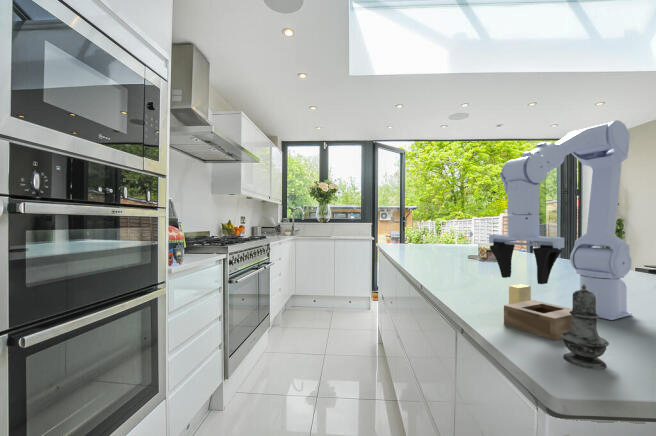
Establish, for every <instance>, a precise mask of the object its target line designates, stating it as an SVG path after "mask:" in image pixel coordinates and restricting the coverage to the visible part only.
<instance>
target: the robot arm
mask: <svg viewBox="0 0 656 436" xmlns="http://www.w3.org/2000/svg"><path fill="white" fill-rule="evenodd" d="M630 138H631V136H630V131H629V130H628V128H627V126H626V124H625V123H624V122H622V121H621V120H619V119H618V120H617V119H615V120H613V121H611V122H607V123H603V124H599V125H594V126H591V127H587V128H582V129H579V130H578V129H576V130H573V131H570V132H567V133H566V135H565V136H563V137H562V138H561V139H559V140H558V141H556V142H546V141H543V142H539V143H537V144H536V145H535V148H534V149H532V150H527V151H524V152H522V154H521V156H520V157H518V158H514V159H510V160H508V161H506V162H505V164H504V165H503V166H502V169H501V171H500V172H499V175H500V180H501V182H502V183H503V185H504V192H505V194H506V195H507V197H506V201H507V202H506V206H507V209H506V210H507V222H506V223H507V234H488V243H489V244H492V245H489V250H490V251H491V252H492V255H494V258H495V260H496V262H497V265H498V268H499V272H500V275H501V278H505V279H508V278H511V277H512V276H511V275H512V259H513V254H514V250H515V246H516V245H517V246H527V247H532V251H533V253H534V257H535V263H536V281H537V284H538V285H545V284H548V281H549V278H550V274H551V272H552V269H553V268H554V267H553V266H554V265H555V262H556V261H557V259H558V258H559V256H560V255H561V253H562V249H563V248H564V249H565V237H556V236H555V237H554V236H541V235H540V227H541V226H540V224H541V223H540V183H544V181H545V180H546V177H547V174H548V173H550V172H552V171H553V170H555V169H556V168H558V167H560V166H561V165H562V164H563V163H564V161H565V157H566V156H568V155H570V154H571V155H573V157H574V158H575V159H577V160H578V161H579V163H581V164H582V165H583V166H586V167H587V166H588V167H590V168H591V169H592V174H591V175H592V176H591V184H590V185H591V186H590V195H589V202H588V203H589V204H588V205H589V207H588V212H587V213H588V215H587V224H586V225H587V226H586V233H585V234H583V235H582V236H580V237H578V238H577V239H576V240H574V245H573V249H572V250H571V253H570V256H569V262H570V265H571V267H572V268H573V269H574V270H575V272H576V275H579V290H581V289H582V286H583V285H585V286H586V287H587V288H586V290H588V291H589V292H591V293H593V294H594V295H595V297H596V314H597V315H599V317H598V318H601V319H604V320H610V321H614V320H618V319H620V318H625V317H629V316H632V315H633V312H630V311H627V310H628V309H627V307H628V301H627V299H628V295H627V294H628V292H627V291H628V290H627V288H628V287H627V285H626V282H625V281H624V280H623V279H624V278H625V277H626V275H628V274H629V272H630V271H631V268H632V258H631V254H630V253H631V252H630V251H631V250H630V245H629V244H628V243H627V242H626V241H624V240H623V239H622V238H621V237H619V236H617V235H616V231H617V230H616V229H617V217H618V206H619V198H620V197H619V195H620V185H621V175H622V166H623V165H622V164H623V162H624V161H625V160H627V159H628V158H629V157H628V156H629V154H628V153H629V149H630V147H629V146H630V140H631V139H630Z"/></svg>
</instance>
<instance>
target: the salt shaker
mask: <svg viewBox="0 0 656 436" xmlns="http://www.w3.org/2000/svg"><path fill="white" fill-rule="evenodd" d="M586 288H587V287H586V286H585V285H583V286H582V289H581V290H580V289H579V290H576V291H574V292H573V293H572V309H573V310H572V311H570V314H572V327H571V330H570V331H569V332H563V333H562V334H561V336H562V337H563V338H562V339H563V343H564V346H565V347H566V349H568V350H569V352H567V353H564V354H563V359H564V360H565V361H566V362H568V363H570V364H573V365H575V366H579V367H582V368H585V369H592V370H593V369H594V370H603V369H605V368H607V363H605V362H604V360H602V359H600V357H601V356H603V355H604V354H605V352H606V351H607V347H608V346H609V345H610V342H609V341H608V340H607V339H606V338H604V337H600V335H599V333H598V330H597V329H598V328H597V322H598V321H597V319H598V318H600V317H599V315H597V314H596V297H595V295H594V294H593V293H591V292H589V291H588V290H586Z"/></svg>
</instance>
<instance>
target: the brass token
mask: <svg viewBox="0 0 656 436" xmlns="http://www.w3.org/2000/svg"><path fill="white" fill-rule="evenodd" d="M531 289H532V288H531V286H530V285H527V284H522V283H521V284H513V285H508V304H514V303H520V302H525V301H531V300H532V298H531V297H532V294H531V293H532V292H531V291H532V290H531Z"/></svg>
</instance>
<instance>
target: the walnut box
mask: <svg viewBox="0 0 656 436" xmlns="http://www.w3.org/2000/svg"><path fill="white" fill-rule="evenodd" d="M572 310H573V308H570V307H566V306H561V305H556V304H554V303H553V304H552V303H547V302H544V301H539V300H534V299H531V301H525V302H520V303H514V304H509V303H508V304H504V305H503V325H505V326H509V327H511V328H515V329H517V330H521V331H524V332H527V333H531V334H534V335H536V336H540V337H543V338H546V339H549V340H552V341H557V340H561V339H563V337H562V336H561V334H562V333H563V332H569V331H570V330H571V327H572V314H570V311H572Z"/></svg>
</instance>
